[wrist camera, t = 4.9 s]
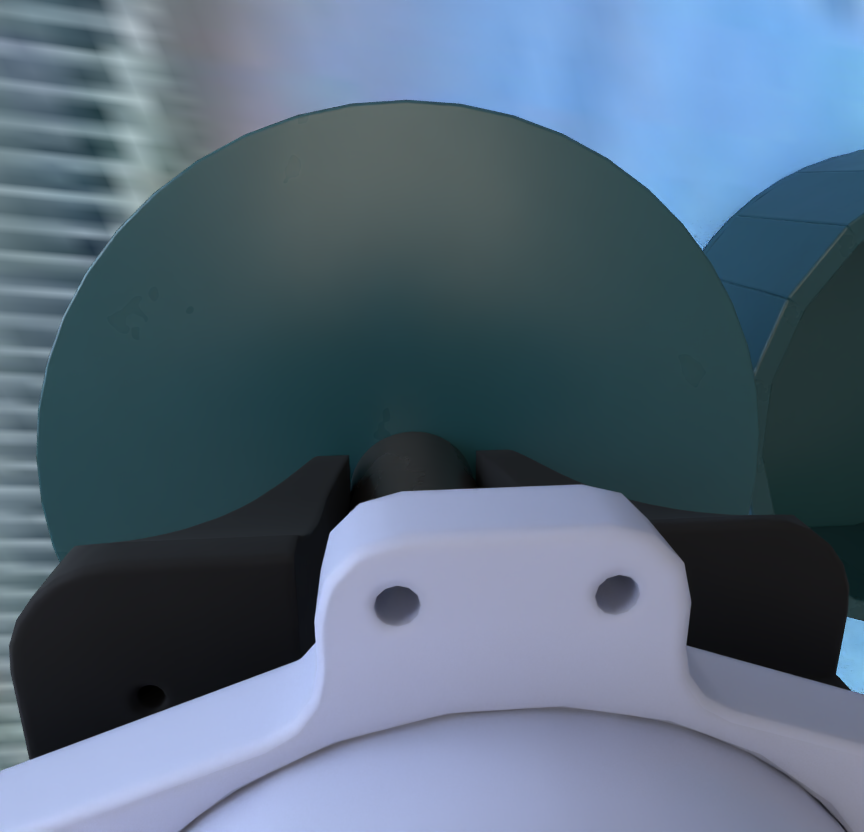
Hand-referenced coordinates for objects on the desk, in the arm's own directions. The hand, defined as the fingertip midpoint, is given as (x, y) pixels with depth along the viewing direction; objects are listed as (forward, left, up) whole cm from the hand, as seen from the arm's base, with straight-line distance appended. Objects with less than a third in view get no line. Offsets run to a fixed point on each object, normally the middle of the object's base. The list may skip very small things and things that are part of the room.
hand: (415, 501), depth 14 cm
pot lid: (0, 0, -1) cm, 1 cm away
